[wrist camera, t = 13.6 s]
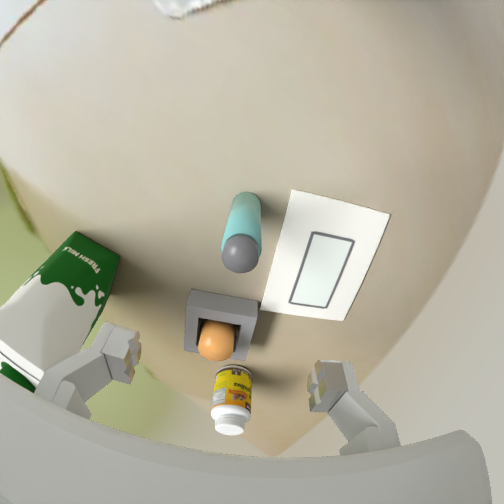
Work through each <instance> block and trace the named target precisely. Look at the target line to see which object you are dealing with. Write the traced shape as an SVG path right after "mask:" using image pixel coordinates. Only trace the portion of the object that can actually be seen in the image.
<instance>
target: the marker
mask: <svg viewBox="0 0 504 504" xmlns="http://www.w3.org/2000/svg"><path fill="white" fill-rule="evenodd" d="M221 252H222V261H223V263H224V265H225V266H226V267H227V268H228V269H229V270H230V271H233V272H236V273H246V272H249V271H251V270H252V269H254V268H255V266H256V265H257V263H258V258H259V257H260V254H261V203H260V200H259V198H258V197H257V196H256V195H255V194H253V193H250V192H243V193H240V194H238V195H237V196H236V197H235V198H234V200H233V203H232V207H231V210H230V214H229V218H228V221H227V225H226V229H225V233H224V236H223V240H222V244H221Z"/></svg>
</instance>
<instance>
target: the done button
mask: <svg viewBox="0 0 504 504" xmlns="http://www.w3.org/2000/svg"><path fill="white" fill-rule="evenodd" d="M234 336H235V328H234V326H233V324H232V323H226V322H221V321H215V320H210V319H208V320H206V321H205V322H204V324H203V327H202V331H201V336H200V340H199V345H198V350H199V352H200V354H201V355H202V356H204V357H205V358H207V359H210V360H213V361H223V360H226V359H228V358H230V357H231V356H232V354H233V346H234Z"/></svg>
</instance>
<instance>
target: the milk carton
mask: <svg viewBox="0 0 504 504" xmlns="http://www.w3.org/2000/svg"><path fill="white" fill-rule="evenodd" d="M119 258H120V256H119V255H117V254H115V253H114V252H112V251H110V250H108V249H106V248H104V247H103V246H101V245H99V244H97V243H95V242H94V241H92V240H90V239H88V238H87V237H85V236H83V235H81V234H80V233H78V232H76V231H75V232H74V233H73V234H72V235H71V236H70V237H69V238H68V239H67V240H66V241H65V242H64V243H63V244H62V245H61V246H60V247H59V248H58V249H57V250H56V251H55V252H54V253H53V254H52V255H51V256H50V258H49V259H48V260H47V261H46V262H45V263H43V264H42V266H40V267H39V268H38V269H37V270H36V271H35V272H34V274H32V275H31V277H29V279H28V280H27V281H26V282H25V283H24V284H23V285H22V286H21V287H20V288H19V289H18V290H17V291H16V292H15V293H14V294H13V296H12V297H11V298H10V299H9V300H8V301H7V302H6V303H5V304H4V305H3V306H1V307H0V369H1V370H0V373H1V374H2V375H4V376H6V377H7V378H9V379H10V380H12V381H13V382H15V383H17V384H18V385H20V386H22V387H23V388H25V389H27V390H29V391H30V392H32V393H34V392H35V390H36V388H37V386H38V384H39V382H40V380H41V379H42V377H43V375H44V373H45V371H46V370H48V369H50V368H51V367H53V366H55V365H57V364H59V363H60V362H62V361H64V360H66V359H68V358H69V357H71V356H73V355H75V354H77V353H78V352H79V351H80V349H81V347H82V345H83V344H84V342H85V340H86V338H87V337H88V335H89V333H90V332H91V330H92V328H93V327H94V325H95V323H96V321H97V320H98V318H99V316H100V315H101V313H102V311H103V309H104V307H105V304H106V302H107V300H108V298H109V295H110V292H111V288H112V284H113V280H114V276H115V272H116V269H117V265H118V262H119Z"/></svg>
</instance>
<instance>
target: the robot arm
mask: <svg viewBox="0 0 504 504" xmlns="http://www.w3.org/2000/svg"><path fill="white" fill-rule="evenodd" d="M139 338H140V334H139V331H136V330H133V329H129V328H126V327H123V326H119V325H116V324H113V323H109V322H105V323H104V324H103V325H102V327H101V329H100V330H99V332H98V334H97V336H96V337H95V339H94V341H93V343H92V345H91V347H90V348H89V349H88V348H86V349H84V350H82V351H80V352H78V353H77V354H75V355H73V356H71V357H69V358H68V359H66V360H64V361H62V362H60V363H59V364H57V365H55V366H53V367H51V368H50V369H48V370H46V371H45V373H44V375H43V377H42V379H41V380H40V382H39V384H38V386H37V388H36V390H35V392H34V393H32V392H30V391H29V390H27V389H25V388H23V387H22V386H20V385H18V384H17V383H15V382H13V381H12V380H10V379H9V378H7V377H6V376H4V375H2V374H1V373H0V504H492V497H491V488H490V482H489V476H488V471H487V466H486V462H485V458H484V454H483V451H482V448H481V446H480V444H479V443H478V442H477V441H476V440H475V439H474V438H472V437H471V436H470V435H469V434H468V433H467V432H465V431H463V430H458V431H454V432H452V433H448V434H445V435H442V436H439V437H435V438H432V439H428V440H425V441H421V442H417V443H413V444H409V445H405V446H401V445H400V441H399V437H398V433H397V430H396V426H395V423H394V422H393V421H392V420H391V419H390V418H389V417H388V416H387V415H386V414H385V413H384V412H383V411H382V410H381V409H380V408H379V407H378V406H377V405H376V404H375V403H374V402H373V401H372V400H371V399H370V398H369V397H368V396H367V395H366V394H365V393H364V392H363V391H360V390H359V386H358V382H357V379H356V375H355V371H354V368H353V364H352V363H351V362H347V361H330V360H318V361H317V362H316V364H315V369H314V370H312V371H311V372H310V374H309V376H308V380H307V390H308V392H309V393H310V394H311V396H310V398H309V407H310V412H328V414H329V416H330V417H331V418H332V420H333V421H334V423H336V425H337V427H338V428H339V429H340V431H341V432H342V433H343V435H344V436H345V437H346V439H347V440H348V443H347V444H346V445H344V446H343V447H342V448H341V449H340V450H339V451H340V455H339V456H327V457H306V458H305V457H304V458H278V457H255V456H241V455H232V454H223V453H215V452H208V451H202V450H196V449H190V448H185V447H180V446H175V445H171V444H167V443H162V442H158V441H154V440H150V439H146V438H143V437H139V436H136V435H133V434H129V433H126V432H123V431H120V430H117V429H114V428H111V427H108V426H105V425H102V424H99V423H97V422H94V421H92V420H90V417H91V413H90V411H89V409H88V408H87V406H86V405H85V402H86V401H87V400H88V399H89V398H91V397H92V396H93V395H95V394H96V393H97V392H98V391H100V390H101V389H102V388H103V387H105V386H106V385H107V384H108V383H110V382H111V381H112V379H113V380H116V381H120V382H123V383H127V384H131V382H132V379H133V376H134V374H135V370H134V366H136V365H137V364H138V363H139V360H140V356H141V343H140V342H139V341H138V340H139Z"/></svg>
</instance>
